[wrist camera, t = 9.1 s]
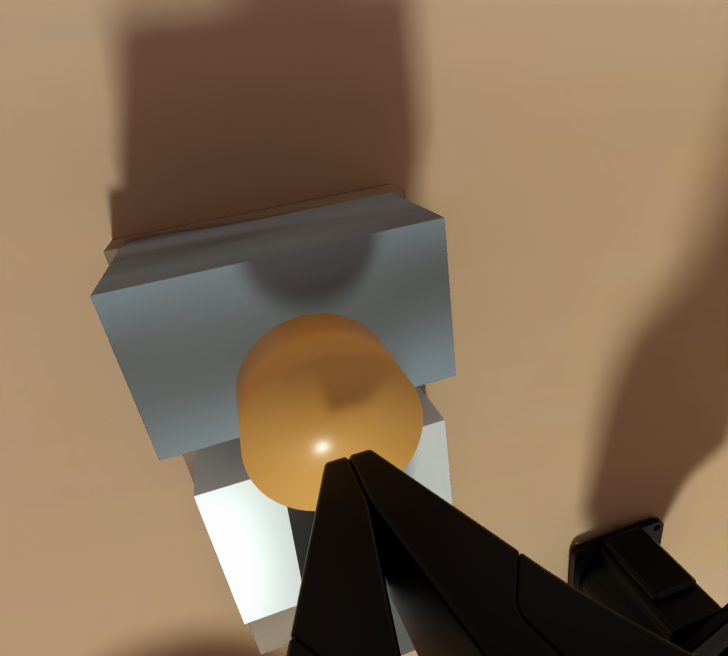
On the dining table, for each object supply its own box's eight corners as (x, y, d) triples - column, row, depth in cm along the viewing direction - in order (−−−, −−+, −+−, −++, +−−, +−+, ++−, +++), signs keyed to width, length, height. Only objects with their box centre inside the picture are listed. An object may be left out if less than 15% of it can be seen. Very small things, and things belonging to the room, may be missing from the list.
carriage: (415, 475, 22) (504, 634, 16) (238, 533, 21) (252, 736, 14) (400, 361, 20) (500, 494, 13) (196, 417, 18) (189, 600, 12)
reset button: (399, 427, 12) (430, 479, 11) (257, 469, 12) (265, 533, 10) (381, 296, 11) (414, 332, 9) (215, 336, 10) (217, 384, 8)
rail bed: (434, 563, 28) (487, 669, 23) (258, 627, 26) (270, 759, 21) (390, 183, 19) (461, 213, 13) (112, 240, 17) (67, 300, 12)
